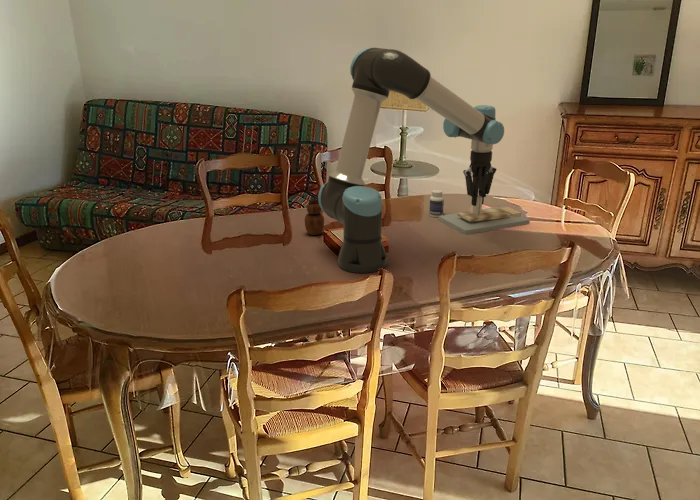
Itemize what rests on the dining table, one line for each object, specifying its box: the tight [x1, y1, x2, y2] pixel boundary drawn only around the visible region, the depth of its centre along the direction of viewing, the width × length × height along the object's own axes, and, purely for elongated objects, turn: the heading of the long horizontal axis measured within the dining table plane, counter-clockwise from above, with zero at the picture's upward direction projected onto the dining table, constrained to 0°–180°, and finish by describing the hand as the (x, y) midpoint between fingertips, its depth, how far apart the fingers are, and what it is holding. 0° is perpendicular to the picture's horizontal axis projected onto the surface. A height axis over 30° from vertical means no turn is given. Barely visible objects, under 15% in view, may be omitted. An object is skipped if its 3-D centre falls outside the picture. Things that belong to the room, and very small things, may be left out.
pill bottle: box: [428, 189, 445, 218], centre depth 226 cm, size 5×5×10 cm
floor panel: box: [437, 206, 530, 235], centre depth 220 cm, size 28×18×3 cm, turn 113°
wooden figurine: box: [304, 192, 325, 236], centre depth 207 cm, size 7×6×15 cm
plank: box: [457, 208, 510, 222], centre depth 220 cm, size 18×8×1 cm, turn 114°
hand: (476, 213), depth 218 cm, fingers closed, pressing on plank
